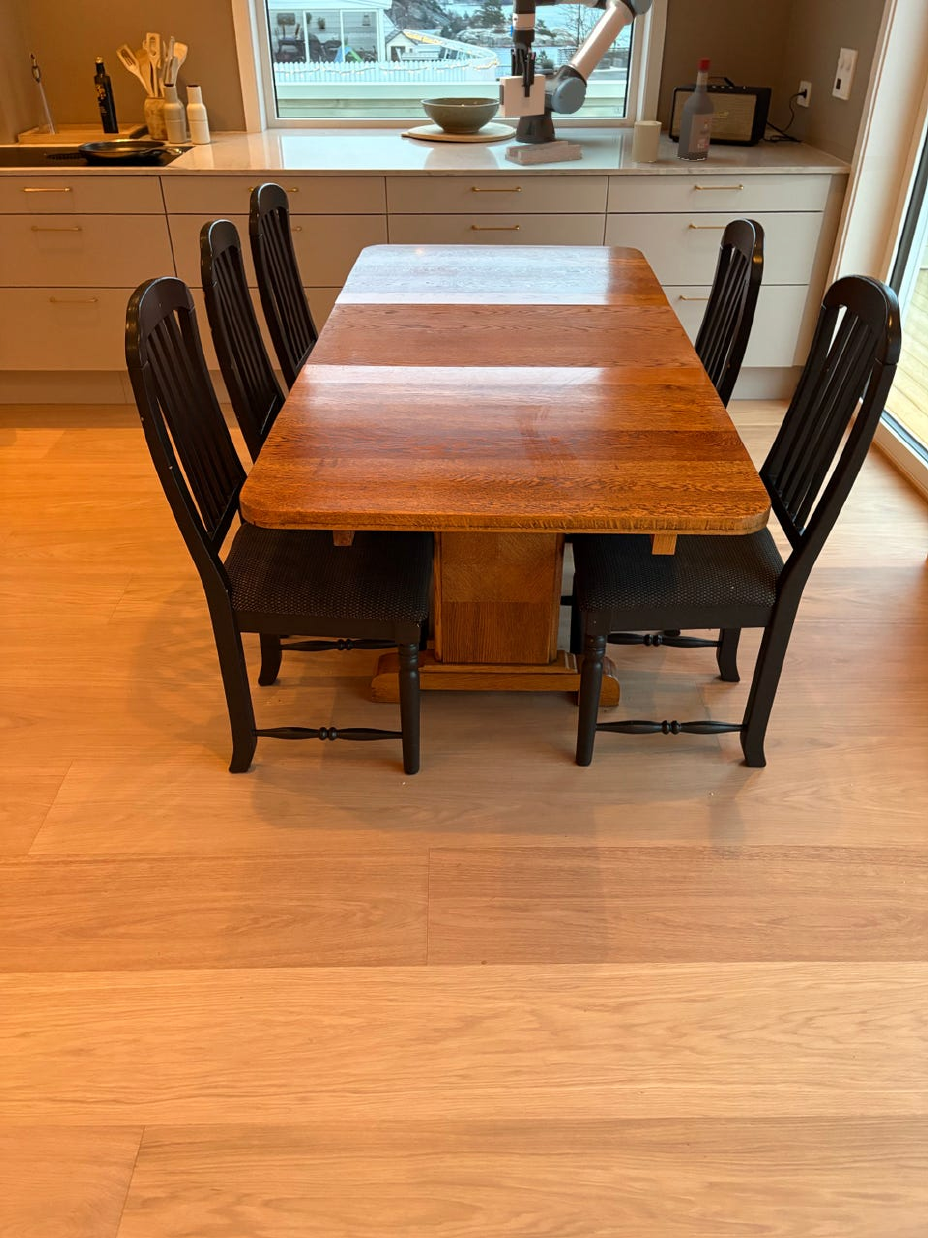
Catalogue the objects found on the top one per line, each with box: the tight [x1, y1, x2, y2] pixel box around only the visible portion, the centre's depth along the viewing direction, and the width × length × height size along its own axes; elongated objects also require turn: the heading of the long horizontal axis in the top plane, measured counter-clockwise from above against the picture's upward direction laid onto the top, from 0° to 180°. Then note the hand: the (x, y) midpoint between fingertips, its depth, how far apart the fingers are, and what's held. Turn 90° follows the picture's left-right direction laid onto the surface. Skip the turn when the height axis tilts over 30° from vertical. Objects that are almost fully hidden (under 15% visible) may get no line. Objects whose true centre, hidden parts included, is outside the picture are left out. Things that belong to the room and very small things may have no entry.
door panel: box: [498, 74, 545, 119], centre depth 328 cm, size 17×4×12 cm, turn 118°
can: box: [630, 120, 662, 163], centre depth 322 cm, size 9×9×12 cm
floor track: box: [504, 140, 583, 166], centre depth 326 cm, size 24×12×4 cm, turn 118°
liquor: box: [677, 57, 715, 160], centre depth 319 cm, size 9×9×30 cm
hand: (521, 106), depth 331 cm, fingers closed on door panel, 4 cm apart
